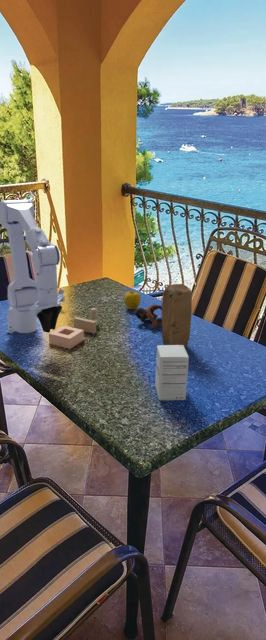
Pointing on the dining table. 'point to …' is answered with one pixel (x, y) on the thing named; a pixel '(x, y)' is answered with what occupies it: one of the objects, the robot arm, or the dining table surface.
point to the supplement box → (171, 372)
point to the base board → (85, 325)
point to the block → (176, 314)
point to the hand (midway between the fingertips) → (49, 330)
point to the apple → (132, 300)
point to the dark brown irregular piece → (149, 315)
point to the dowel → (94, 315)
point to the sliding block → (66, 337)
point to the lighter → (61, 291)
